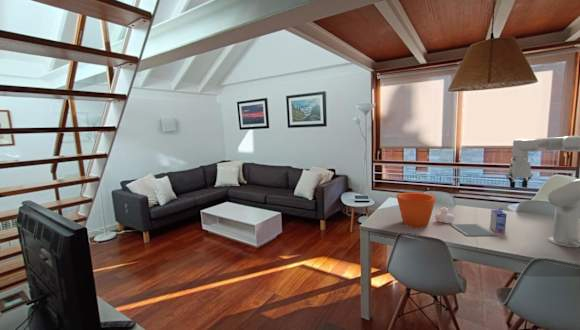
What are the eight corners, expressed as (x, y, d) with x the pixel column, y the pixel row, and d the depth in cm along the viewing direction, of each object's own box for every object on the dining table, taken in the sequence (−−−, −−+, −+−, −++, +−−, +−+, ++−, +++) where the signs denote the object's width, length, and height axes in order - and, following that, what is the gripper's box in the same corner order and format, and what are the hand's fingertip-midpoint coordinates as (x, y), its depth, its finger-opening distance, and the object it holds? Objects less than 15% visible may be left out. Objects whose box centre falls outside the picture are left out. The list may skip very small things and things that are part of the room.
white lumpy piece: (454, 225, 192) (453, 210, 197) (455, 222, 186) (454, 206, 191) (434, 223, 198) (434, 209, 203) (435, 220, 192) (435, 205, 197)
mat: (497, 236, 166) (497, 235, 166) (466, 236, 168) (466, 235, 168) (477, 224, 186) (477, 223, 186) (449, 225, 188) (450, 224, 188)
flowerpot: (410, 231, 179) (411, 202, 176) (389, 220, 203) (389, 194, 201) (444, 227, 184) (444, 198, 181) (419, 216, 208) (419, 191, 206)
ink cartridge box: (505, 233, 170) (507, 210, 168) (495, 232, 172) (496, 210, 170) (499, 227, 179) (500, 206, 178) (489, 227, 181) (490, 205, 180)
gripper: (509, 160, 166) (507, 189, 169) (540, 159, 165) (538, 188, 167) (501, 158, 174) (499, 186, 176) (530, 158, 172) (528, 186, 174)
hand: (518, 187), depth 171 cm, fingers open, 6 cm apart
